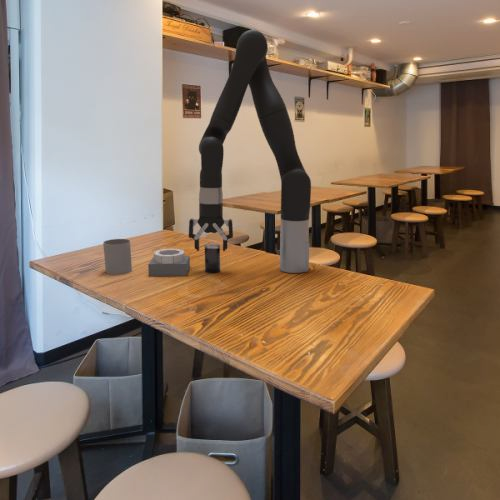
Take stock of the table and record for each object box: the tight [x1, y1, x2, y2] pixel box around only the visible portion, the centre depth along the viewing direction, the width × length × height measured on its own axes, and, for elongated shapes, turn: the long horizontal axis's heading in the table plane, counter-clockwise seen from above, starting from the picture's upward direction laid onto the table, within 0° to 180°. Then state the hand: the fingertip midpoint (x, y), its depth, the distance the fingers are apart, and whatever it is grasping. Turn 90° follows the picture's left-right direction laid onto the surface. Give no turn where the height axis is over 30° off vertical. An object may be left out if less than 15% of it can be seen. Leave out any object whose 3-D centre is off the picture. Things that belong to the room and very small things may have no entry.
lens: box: [203, 242, 221, 274], centre depth 142 cm, size 5×5×9 cm
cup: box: [102, 238, 133, 276], centre depth 141 cm, size 8×8×10 cm
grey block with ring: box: [147, 248, 191, 277], centre depth 141 cm, size 12×10×6 cm
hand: (211, 250), depth 141 cm, fingers open, 8 cm apart
